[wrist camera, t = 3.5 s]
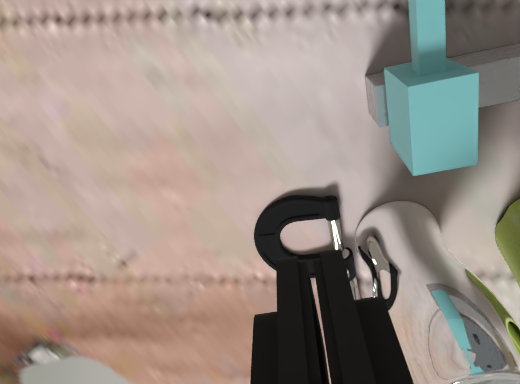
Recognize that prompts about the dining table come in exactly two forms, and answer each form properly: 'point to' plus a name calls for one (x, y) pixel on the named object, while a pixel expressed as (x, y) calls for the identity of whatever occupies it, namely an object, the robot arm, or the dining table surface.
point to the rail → (485, 62)
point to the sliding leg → (432, 99)
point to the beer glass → (436, 301)
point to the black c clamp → (301, 210)
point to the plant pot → (510, 238)
